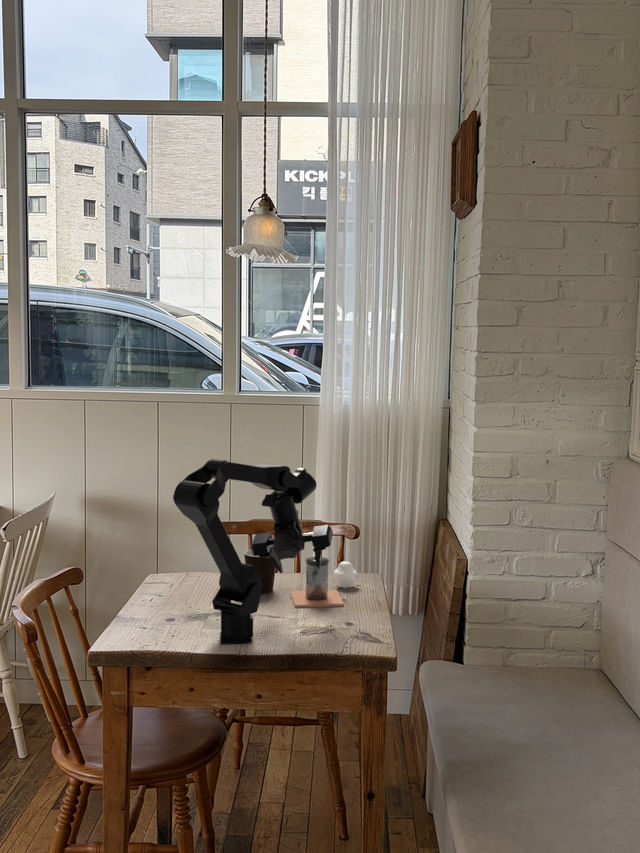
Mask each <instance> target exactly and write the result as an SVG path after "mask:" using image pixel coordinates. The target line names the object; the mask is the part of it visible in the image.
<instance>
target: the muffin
mask: <svg viewBox="0 0 640 853" xmlns="http://www.w3.org/2000/svg"><path fill="white" fill-rule="evenodd" d="M357 575H358V573H357V570H355V569H354V567H353V563H351V562H350V561H346V560H344V561H341V562H339V564H338V567H337V568H336V569H335V570H334V571H333V576H334V579H335V581H336V583H337V585H338V588H340V587H350V588H352V586H353V585H354V583H355V581H356V579H357V578H356V577H357Z"/></svg>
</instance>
